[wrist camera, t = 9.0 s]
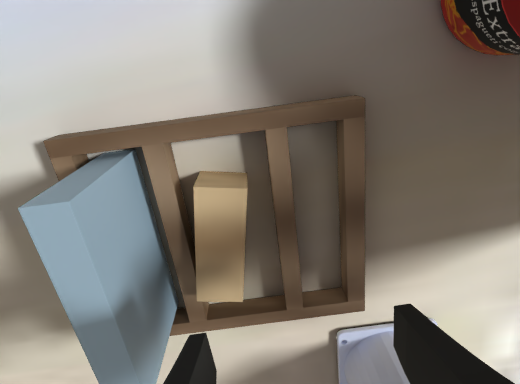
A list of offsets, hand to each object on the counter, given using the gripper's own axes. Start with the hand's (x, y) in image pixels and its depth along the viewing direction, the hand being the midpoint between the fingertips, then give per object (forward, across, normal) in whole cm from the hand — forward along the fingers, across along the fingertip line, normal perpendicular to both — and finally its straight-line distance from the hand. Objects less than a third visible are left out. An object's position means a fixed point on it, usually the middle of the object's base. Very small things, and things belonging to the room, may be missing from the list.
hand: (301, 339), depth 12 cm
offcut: (+11, +4, 0) cm, 11 cm away
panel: (+10, +9, 0) cm, 14 cm away
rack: (+10, +3, 0) cm, 11 cm away
